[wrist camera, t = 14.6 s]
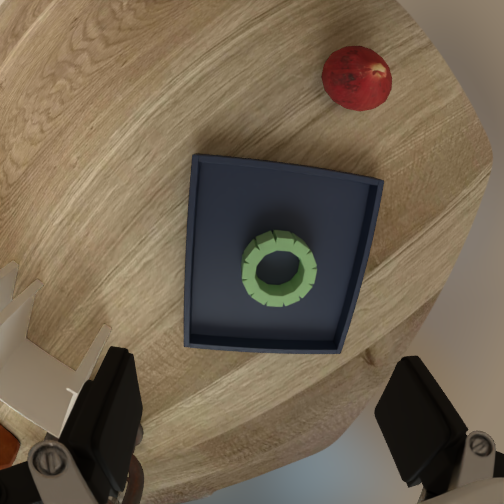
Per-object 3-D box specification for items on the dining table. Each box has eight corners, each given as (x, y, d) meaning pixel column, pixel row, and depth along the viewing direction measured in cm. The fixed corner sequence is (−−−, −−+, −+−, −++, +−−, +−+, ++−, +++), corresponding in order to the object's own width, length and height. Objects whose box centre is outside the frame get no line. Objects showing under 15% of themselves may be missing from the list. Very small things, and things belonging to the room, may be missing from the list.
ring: (316, 234, 29) (323, 241, 27) (303, 296, 32) (309, 308, 29) (245, 226, 29) (246, 234, 26) (238, 292, 31) (238, 304, 29)
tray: (374, 177, 28) (384, 180, 26) (335, 342, 35) (340, 354, 32) (195, 153, 26) (192, 154, 24) (186, 335, 33) (183, 347, 31)
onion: (321, 118, 26) (354, 111, 18) (305, 61, 24) (331, 35, 16) (376, 109, 26) (421, 102, 18) (360, 54, 24) (400, 32, 16)
